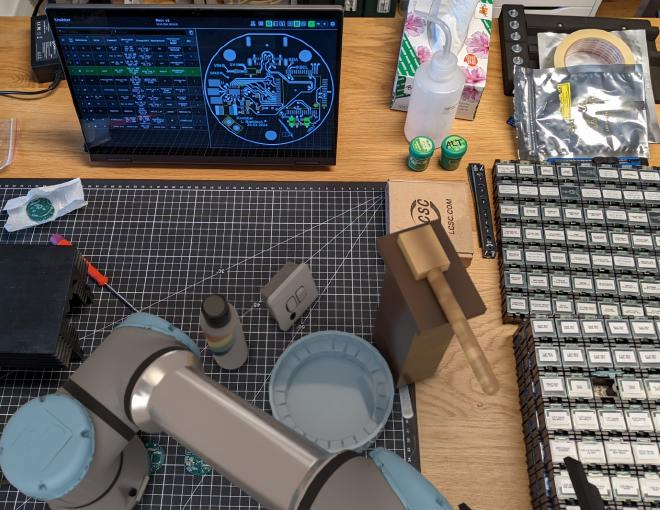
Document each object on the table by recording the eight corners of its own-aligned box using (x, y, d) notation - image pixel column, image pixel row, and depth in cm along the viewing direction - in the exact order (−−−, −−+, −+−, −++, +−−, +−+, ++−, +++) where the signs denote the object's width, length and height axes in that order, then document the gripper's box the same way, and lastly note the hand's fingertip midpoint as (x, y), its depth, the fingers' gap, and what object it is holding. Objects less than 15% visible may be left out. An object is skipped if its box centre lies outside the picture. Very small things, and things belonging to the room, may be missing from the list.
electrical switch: (285, 334, 106) (278, 308, 98) (263, 317, 108) (254, 291, 100) (319, 295, 110) (315, 268, 102) (297, 280, 112) (291, 252, 104)
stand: (394, 402, 100) (420, 332, 74) (362, 327, 107) (376, 237, 81) (444, 384, 102) (487, 309, 76) (410, 311, 108) (438, 218, 82)
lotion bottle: (231, 331, 106) (213, 278, 89) (255, 351, 104) (242, 301, 87) (207, 356, 104) (184, 306, 86) (232, 377, 102) (213, 330, 85)
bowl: (293, 479, 94) (291, 472, 89) (256, 365, 103) (253, 352, 98) (409, 435, 98) (413, 426, 93) (364, 329, 107) (366, 315, 101)
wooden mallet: (475, 403, 70) (479, 398, 68) (396, 242, 80) (398, 234, 79) (509, 390, 71) (514, 385, 69) (427, 232, 81) (430, 224, 79)
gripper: (469, 691, 71) (408, 516, 71) (653, 599, 75) (595, 433, 75) (498, 738, 63) (429, 542, 63) (699, 632, 68) (635, 449, 68)
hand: (519, 483), depth 69 cm, fingers open, 13 cm apart
